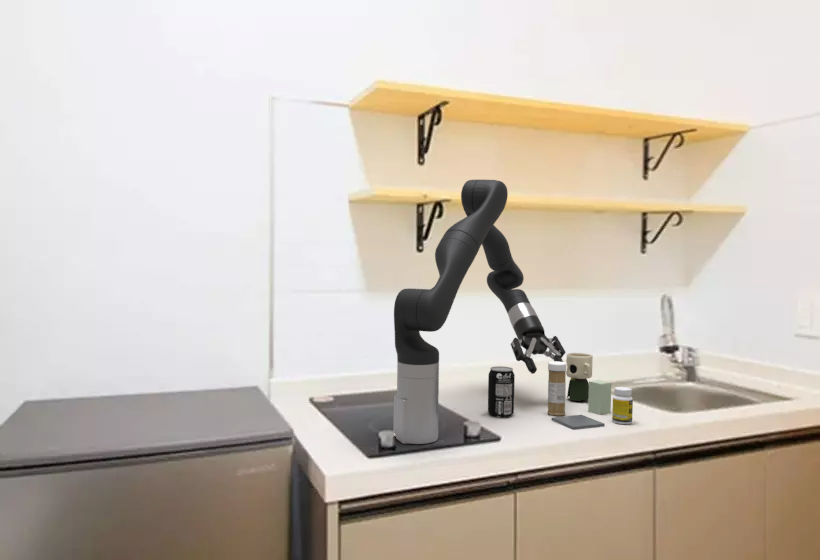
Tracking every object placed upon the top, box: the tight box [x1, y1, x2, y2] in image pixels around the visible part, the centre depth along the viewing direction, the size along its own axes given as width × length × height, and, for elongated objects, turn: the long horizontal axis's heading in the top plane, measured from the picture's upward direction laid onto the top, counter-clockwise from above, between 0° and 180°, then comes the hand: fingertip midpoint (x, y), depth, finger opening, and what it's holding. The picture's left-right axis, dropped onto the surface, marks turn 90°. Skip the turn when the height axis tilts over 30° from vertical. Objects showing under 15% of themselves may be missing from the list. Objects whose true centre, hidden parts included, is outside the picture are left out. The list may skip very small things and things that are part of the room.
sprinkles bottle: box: [547, 360, 567, 417], centre depth 165 cm, size 5×5×14 cm
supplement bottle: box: [611, 386, 634, 425], centre depth 158 cm, size 5×5×8 cm
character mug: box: [565, 352, 593, 403], centre depth 181 cm, size 11×7×13 cm, turn 14°
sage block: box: [587, 379, 612, 416], centre depth 168 cm, size 4×4×8 cm
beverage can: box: [487, 365, 516, 419], centre depth 164 cm, size 7×7×12 cm
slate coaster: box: [550, 414, 606, 430], centre depth 157 cm, size 9×9×1 cm
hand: (548, 371), depth 168 cm, fingers open, 8 cm apart
